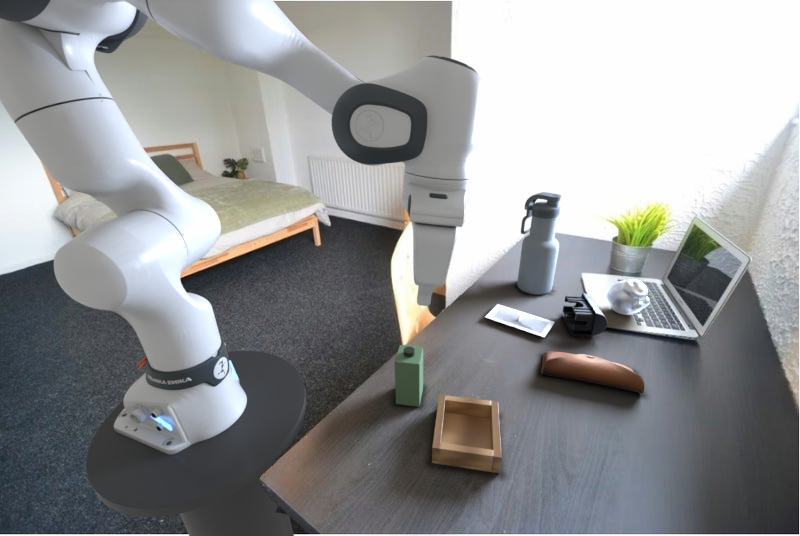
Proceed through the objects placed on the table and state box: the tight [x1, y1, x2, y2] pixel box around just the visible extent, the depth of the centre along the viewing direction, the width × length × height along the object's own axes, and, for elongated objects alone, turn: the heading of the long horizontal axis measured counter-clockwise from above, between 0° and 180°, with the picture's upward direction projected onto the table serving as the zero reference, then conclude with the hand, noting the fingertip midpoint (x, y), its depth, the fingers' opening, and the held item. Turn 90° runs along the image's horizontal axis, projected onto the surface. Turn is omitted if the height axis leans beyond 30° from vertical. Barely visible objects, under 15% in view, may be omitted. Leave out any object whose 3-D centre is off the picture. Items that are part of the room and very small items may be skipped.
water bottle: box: [516, 191, 562, 296], centre depth 104 cm, size 10×10×28 cm
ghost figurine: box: [606, 278, 651, 316], centre depth 95 cm, size 9×10×10 cm
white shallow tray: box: [484, 303, 556, 338], centre depth 93 cm, size 8×15×2 cm, turn 53°
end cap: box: [562, 292, 609, 338], centre depth 90 cm, size 10×7×7 cm
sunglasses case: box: [540, 350, 645, 395], centre depth 76 cm, size 18×7×7 cm
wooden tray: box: [431, 393, 503, 474], centre depth 62 cm, size 10×11×4 cm
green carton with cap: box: [394, 344, 424, 408], centre depth 70 cm, size 4×5×11 cm
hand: (422, 288), depth 55 cm, fingers open, 8 cm apart
